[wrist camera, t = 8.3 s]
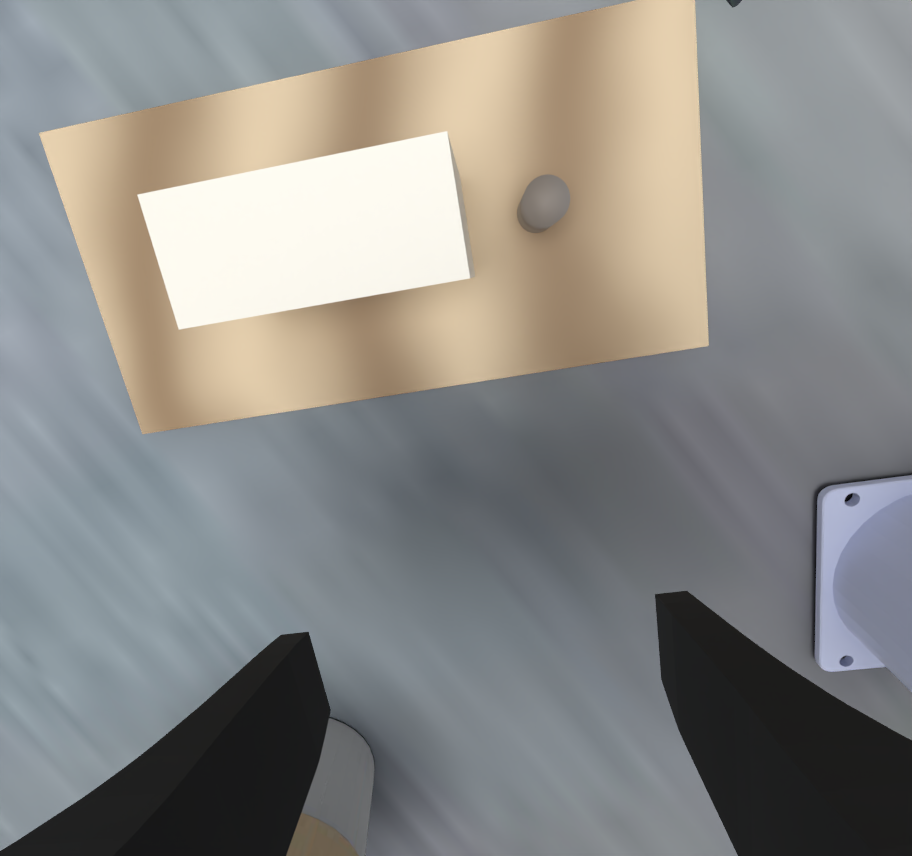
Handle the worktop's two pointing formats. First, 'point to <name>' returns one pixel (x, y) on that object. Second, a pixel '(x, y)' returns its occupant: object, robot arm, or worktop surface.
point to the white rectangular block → (312, 232)
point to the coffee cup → (337, 798)
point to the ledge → (486, 205)
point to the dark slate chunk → (734, 2)
